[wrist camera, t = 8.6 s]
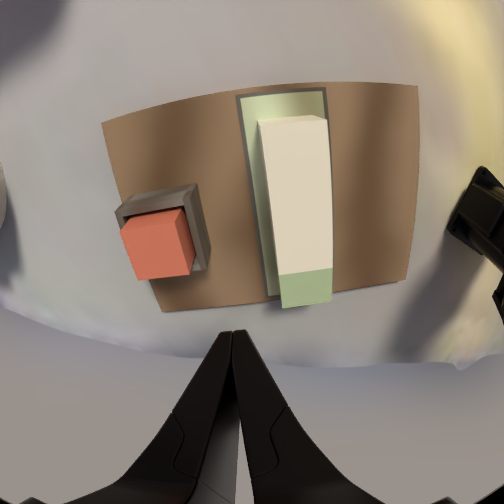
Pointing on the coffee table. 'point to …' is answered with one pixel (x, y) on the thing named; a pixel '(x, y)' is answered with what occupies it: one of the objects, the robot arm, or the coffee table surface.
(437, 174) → the coffee table surface
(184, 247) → the button
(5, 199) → the flag stand
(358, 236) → the brown control panel
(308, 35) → the coffee table surface
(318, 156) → the block
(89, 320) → the coffee table surface
